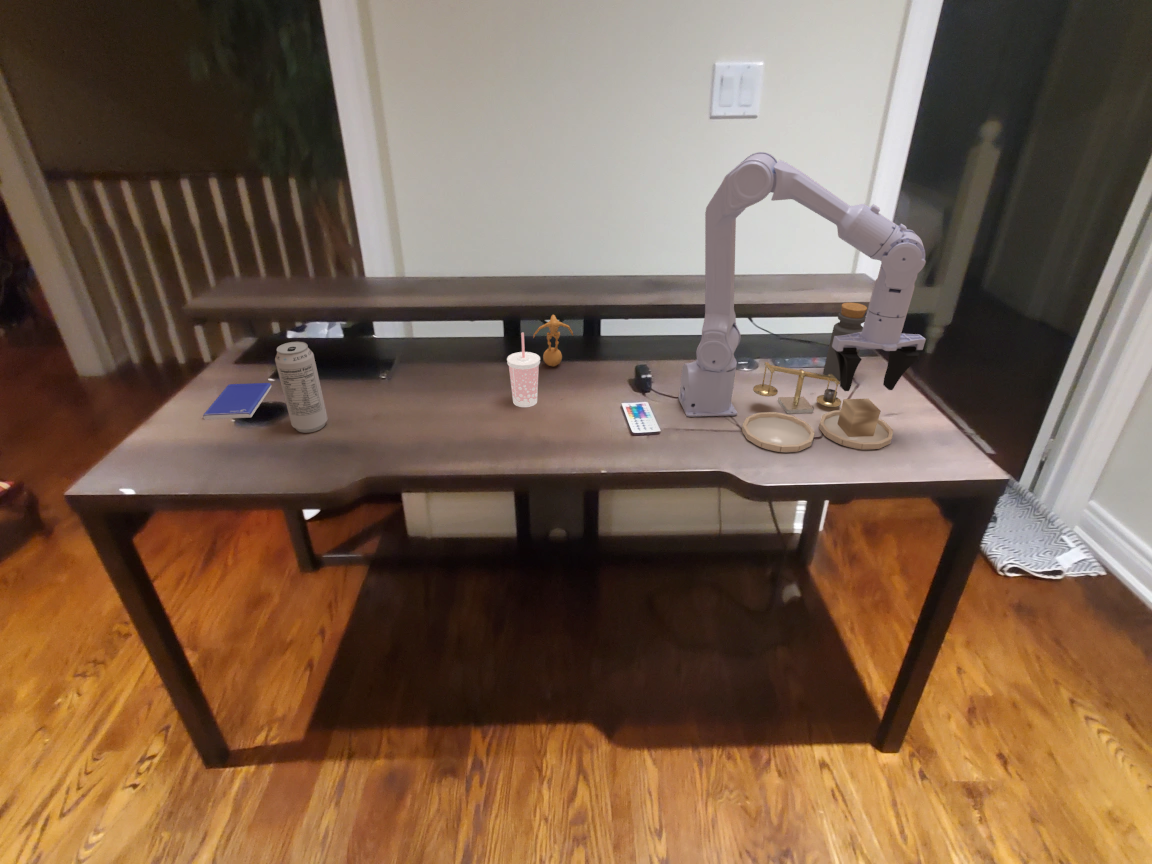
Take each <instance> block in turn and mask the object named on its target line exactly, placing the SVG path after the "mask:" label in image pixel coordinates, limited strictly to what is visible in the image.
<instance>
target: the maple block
mask: <svg viewBox="0 0 1152 864" xmlns="http://www.w3.org/2000/svg"><path fill="white" fill-rule="evenodd" d="M840 410H841V411H840V415H839V419H838V423H837V424H838V425H839V426H840V428H841V429H842V430H843V431H844V432H845V434H846V435H847V436H848V437H861V436H874V433H875V429H876V426H877V422H878V419H880V415H881V410H880V408H879V407H877V405H875V403H873V401H872V400H871V399H870V398H843V400H842V402H841V408H840Z"/></svg>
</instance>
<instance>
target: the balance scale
mask: <svg viewBox="0 0 1152 864" xmlns="http://www.w3.org/2000/svg"><path fill="white" fill-rule="evenodd" d="M764 365H765V366H764V373H763V379H762V383H760V384H756V385H754V386H753V389H752V391H753V392H754V394H757V395H759V396H762V397H774V396H776V395H778V392H779V391H778V388H777V387H775V386H773V385H772V379H773V373H774V374H775V372H779V373H782V374H783V373H784V374H789V375H794V376H796V375H797V376H798V378H797V383H796V386H795V387H796V388H795V392H794V396H781V397H779V396H778V397H777V402H778V404H779V405H780V406H781V408H782V409H783V410H784V412H785V414H787V415H791V414H813V413H814V411H815V409H814V407H813V406H812V405H811V404H810V402H809V401H808V400H807V399H806V397H805V396H801V394H802V389H803V385H804V379H805V377H807V378H812V379H817V380H823V381H827V386H826V388H825V389H824V393H823V394H821V395H818V396H817V397H816V402H817V403H818V404H820V405H822V406H825V407H829V408H837V407H839V406H842V400H841V399H840V398H839V397H837V395H838V390H837V389H838V386H839V385H840V381H838V380H837V379H836V378H835V377H834V376H833V375H832V374H829V375H824V374H822V373H816V372H809V371H805V370H803V369H802V368H801V369H794V368H789V367H783V366H779V365H778V366H777V365H774V364H772V365H771V364H770V363H769V362H768V361H767V362H766V361H765V362H764ZM767 370H768V371H769V372H770V380H769V384H765V378H766V373H767ZM830 382H833V383H834V384H835V385H836V386H835V389H833V388H829V386H830Z"/></svg>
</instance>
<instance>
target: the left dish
mask: <svg viewBox="0 0 1152 864" xmlns="http://www.w3.org/2000/svg"><path fill="white" fill-rule="evenodd" d="M741 432H742V433H743V435H744V437H745V438H746V440H747V441H749V442H751V443H752V444H753V445H755V446H757V447H760V448H762V449H764V450H767V451H772V452H777V453H794V452H796V453H797V452H800V451H803V450H804V449H807V448H809V447H811V446H812V445H813V440H814V438H815V431H814V429H813V428H812V427H811V425H810V424H809V423H808V422H807V421H804V420H802V419H801V418H798V417H797V416H794V415H791V414H787V413H782V412H776V411H768V412H767V411H766V412H765V411H763V412H757V413H754V414H751V415H749V416H747V417H746V418H745V419H744V422H743V423H742V425H741Z"/></svg>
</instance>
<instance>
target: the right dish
mask: <svg viewBox="0 0 1152 864" xmlns="http://www.w3.org/2000/svg"><path fill="white" fill-rule="evenodd" d="M840 411H841V409H837V410H832V411H831V410H830V411H828V412H827V413H826V412H825V413H824V414H822V415H821V418H820V421H819V425H818V429H819V430H820V431H821V432H822V434H823V436H825V437H826V438H827V439H829V440H831V441H832V442H834V443H836V444H838V445H840V446H844V447H847V448H850V449H855V450H856V449H857V450H865V451H866V450H867V451H871V450H880V449H882V448H883V447H886V446H888V445H890V444H891V442H892V439H893V432H894V430H893V428H892V427H890V425H889V424H888V423H887V422H886V421H884V420H883V419H880V418H879V419H878V422H877V426H876V429H875V433H874V436H861V437H848V436H847V435H846V434H845V432H844V431H843V430H842V429H841V428H840V426H839V425H838V424H837V423H838V419H839V415H840Z"/></svg>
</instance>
